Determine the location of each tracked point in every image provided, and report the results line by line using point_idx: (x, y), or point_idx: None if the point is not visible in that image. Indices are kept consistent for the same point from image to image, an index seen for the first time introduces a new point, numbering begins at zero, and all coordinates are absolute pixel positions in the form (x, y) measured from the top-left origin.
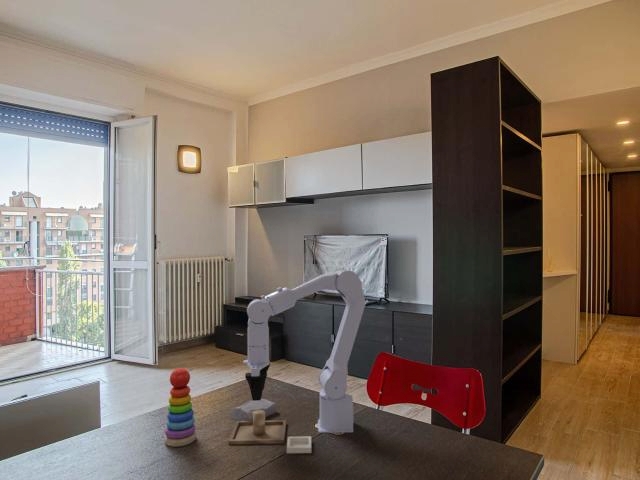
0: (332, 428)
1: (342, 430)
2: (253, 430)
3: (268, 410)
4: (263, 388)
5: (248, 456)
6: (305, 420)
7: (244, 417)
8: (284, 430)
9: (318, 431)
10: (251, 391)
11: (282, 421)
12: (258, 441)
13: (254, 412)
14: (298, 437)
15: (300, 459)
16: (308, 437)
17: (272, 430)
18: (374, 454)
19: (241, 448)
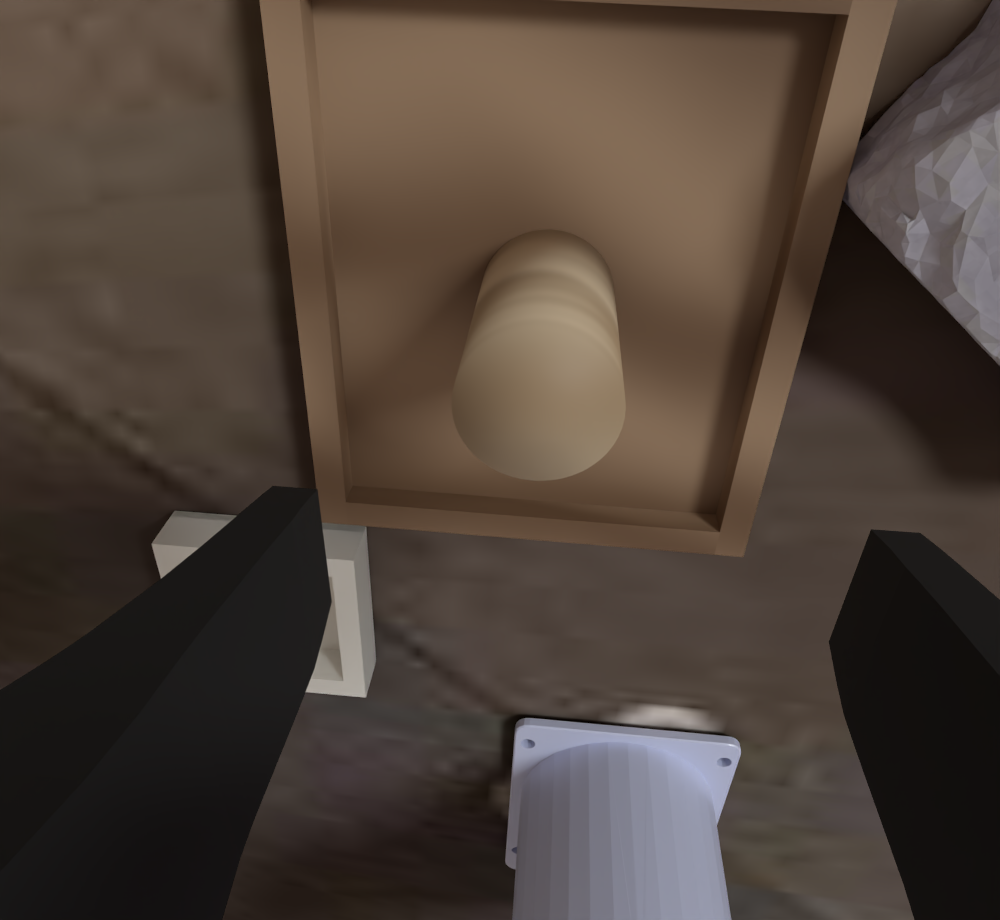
0: (521, 802)
1: (517, 829)
2: (514, 251)
3: None
4: (835, 670)
5: (78, 209)
6: (784, 663)
7: (940, 98)
8: (511, 534)
9: (528, 721)
10: (146, 603)
11: (722, 526)
12: (297, 308)
13: (548, 349)
14: (340, 626)
15: (125, 583)
16: (344, 681)
17: None
18: (253, 874)
19: (225, 117)
